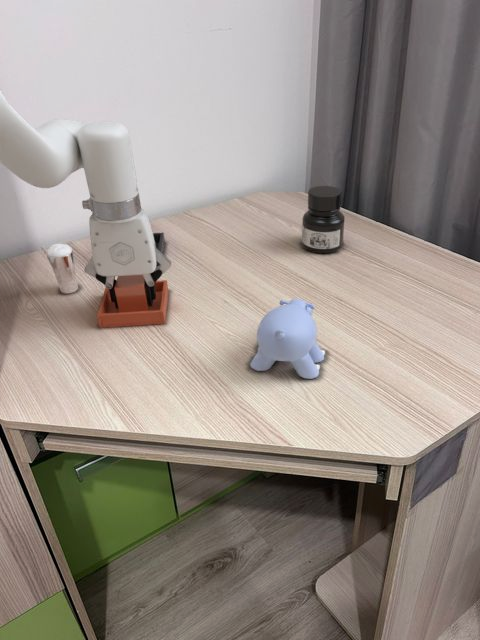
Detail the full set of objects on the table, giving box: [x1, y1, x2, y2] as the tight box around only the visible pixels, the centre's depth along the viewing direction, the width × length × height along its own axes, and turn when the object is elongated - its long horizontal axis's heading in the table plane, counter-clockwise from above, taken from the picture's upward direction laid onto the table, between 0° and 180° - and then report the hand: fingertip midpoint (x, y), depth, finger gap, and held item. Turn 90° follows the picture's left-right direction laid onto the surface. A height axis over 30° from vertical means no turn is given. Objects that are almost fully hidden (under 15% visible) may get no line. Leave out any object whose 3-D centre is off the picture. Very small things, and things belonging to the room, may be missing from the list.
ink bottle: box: [301, 185, 345, 254], centre depth 114 cm, size 10×9×12 cm
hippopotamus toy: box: [249, 298, 326, 380], centre depth 82 cm, size 11×15×10 cm
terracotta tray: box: [96, 279, 170, 329], centre depth 97 cm, size 11×11×2 cm
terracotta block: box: [114, 275, 149, 313], centre depth 95 cm, size 5×5×5 cm
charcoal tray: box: [152, 232, 166, 267], centre depth 114 cm, size 11×11×2 cm
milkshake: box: [40, 243, 79, 295], centre depth 100 cm, size 4×5×10 cm
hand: (134, 302), depth 97 cm, fingers closed on terracotta block, 5 cm apart
